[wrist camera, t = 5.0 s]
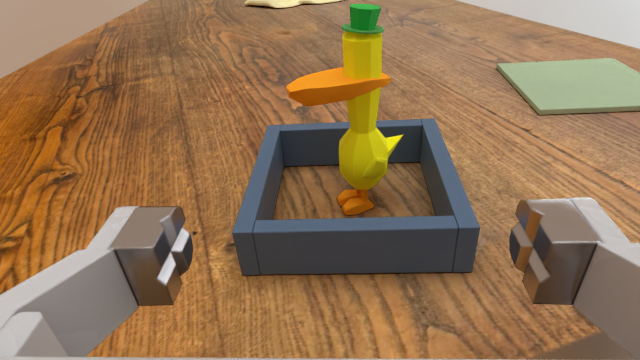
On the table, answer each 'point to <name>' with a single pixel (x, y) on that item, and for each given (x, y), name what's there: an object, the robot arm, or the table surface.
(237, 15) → the table surface
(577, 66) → the felt mat
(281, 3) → the cloth
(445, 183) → the open square frame
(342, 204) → the toy figure
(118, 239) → the robot arm
